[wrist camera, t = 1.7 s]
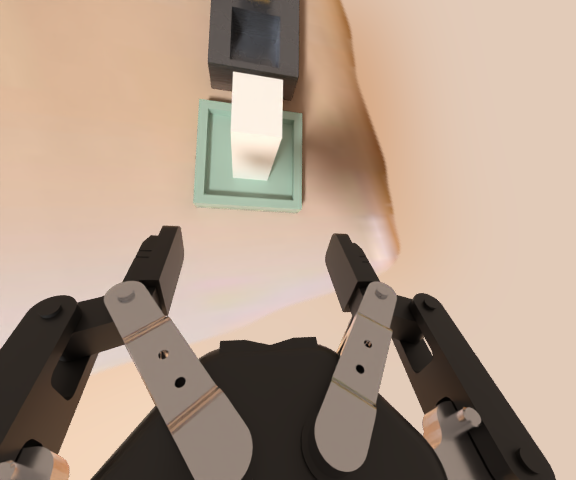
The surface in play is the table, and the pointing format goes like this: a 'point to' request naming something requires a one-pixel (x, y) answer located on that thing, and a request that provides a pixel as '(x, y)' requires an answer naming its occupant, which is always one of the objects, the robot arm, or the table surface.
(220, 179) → the tray
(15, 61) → the table surface
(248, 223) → the table surface
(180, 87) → the table surface
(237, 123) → the plug
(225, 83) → the grey charging dock
